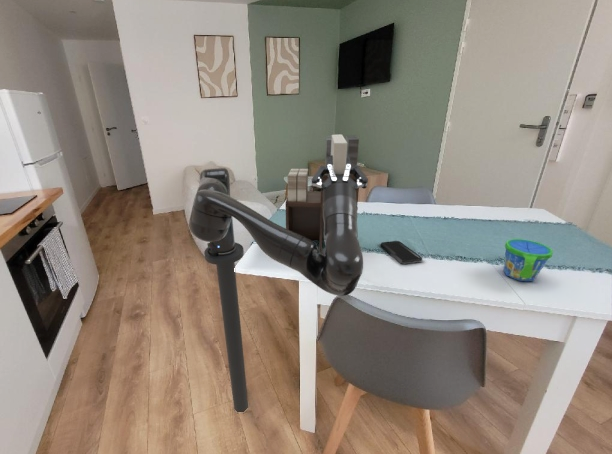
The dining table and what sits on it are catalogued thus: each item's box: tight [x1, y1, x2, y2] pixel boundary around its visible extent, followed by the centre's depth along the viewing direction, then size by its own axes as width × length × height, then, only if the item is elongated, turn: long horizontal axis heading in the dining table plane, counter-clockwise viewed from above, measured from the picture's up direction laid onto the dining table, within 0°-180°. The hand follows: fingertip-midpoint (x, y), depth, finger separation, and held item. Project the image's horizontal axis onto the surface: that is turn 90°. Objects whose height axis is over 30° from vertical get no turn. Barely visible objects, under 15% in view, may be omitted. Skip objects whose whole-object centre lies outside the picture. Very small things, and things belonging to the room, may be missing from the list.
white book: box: [331, 133, 347, 174], centre depth 79 cm, size 20×3×9 cm, turn 170°
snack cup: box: [503, 238, 554, 282], centre depth 87 cm, size 16×10×10 cm
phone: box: [380, 240, 423, 265], centre depth 105 cm, size 8×1×15 cm
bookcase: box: [285, 134, 360, 255], centre depth 104 cm, size 14×24×41 cm, turn 79°
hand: (338, 158), depth 76 cm, fingers closed on white book, 3 cm apart
